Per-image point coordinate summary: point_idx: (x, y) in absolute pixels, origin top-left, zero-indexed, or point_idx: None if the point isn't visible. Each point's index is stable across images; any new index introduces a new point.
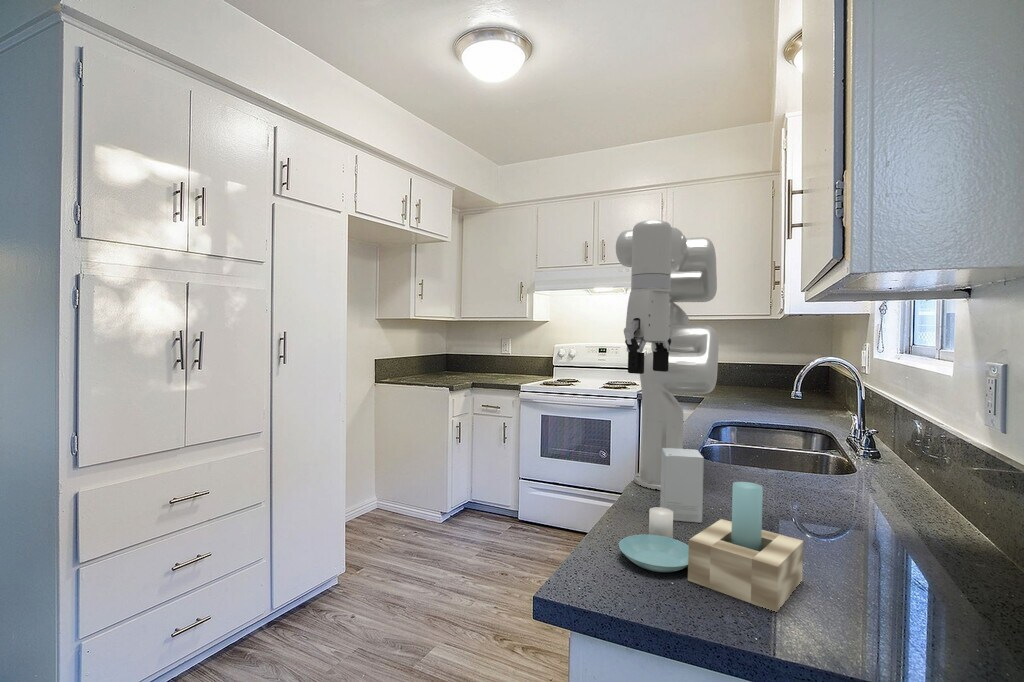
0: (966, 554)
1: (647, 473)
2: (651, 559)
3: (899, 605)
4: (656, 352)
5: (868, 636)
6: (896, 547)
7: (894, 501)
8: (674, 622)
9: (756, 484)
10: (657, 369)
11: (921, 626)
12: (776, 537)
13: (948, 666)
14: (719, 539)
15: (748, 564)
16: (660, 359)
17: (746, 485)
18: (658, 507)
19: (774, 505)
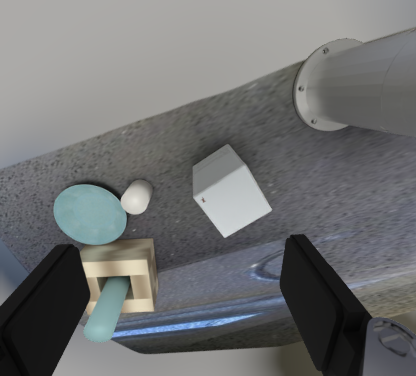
0: (290, 330)
1: (314, 79)
2: (92, 208)
3: (172, 321)
4: (332, 327)
5: (119, 319)
6: (273, 306)
7: (404, 286)
8: (30, 259)
9: (110, 335)
10: (285, 258)
11: (154, 331)
12: (143, 298)
13: (122, 341)
14: (97, 276)
15: None
16: (305, 308)
17: (97, 332)
18: (141, 195)
19: (324, 223)
